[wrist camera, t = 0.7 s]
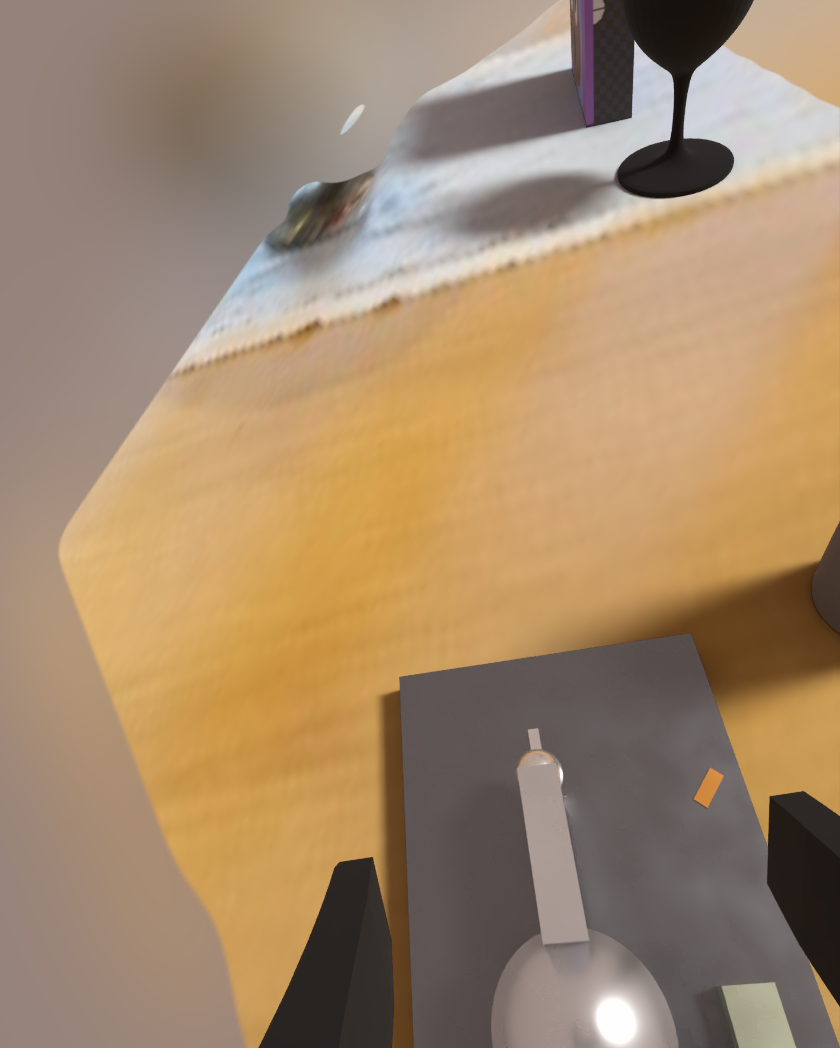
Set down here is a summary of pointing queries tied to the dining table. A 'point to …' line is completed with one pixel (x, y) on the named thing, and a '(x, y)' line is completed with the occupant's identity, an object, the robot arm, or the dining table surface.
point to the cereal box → (602, 60)
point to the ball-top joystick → (570, 949)
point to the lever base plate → (595, 843)
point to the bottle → (829, 583)
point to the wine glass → (679, 91)
